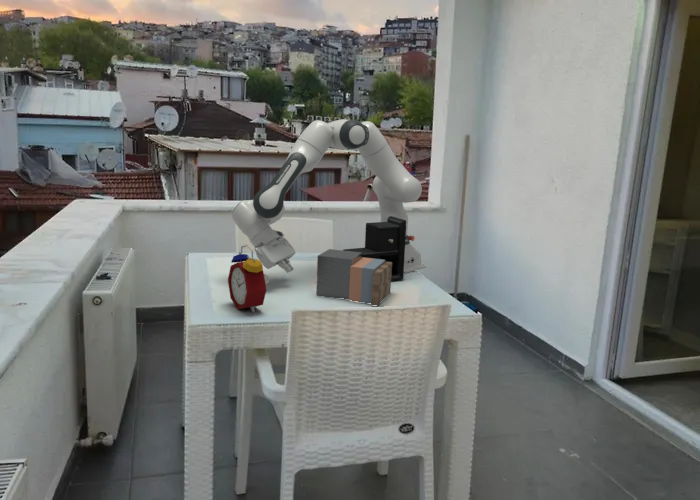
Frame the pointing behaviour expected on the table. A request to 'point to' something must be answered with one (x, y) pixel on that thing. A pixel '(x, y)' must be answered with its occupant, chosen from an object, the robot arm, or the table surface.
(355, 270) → the terracotta book
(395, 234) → the bookend
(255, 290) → the alarm clock
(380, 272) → the walnut end board
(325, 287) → the iron bookend
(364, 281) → the slate-blue book
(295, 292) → the table surface
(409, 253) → the robot arm
